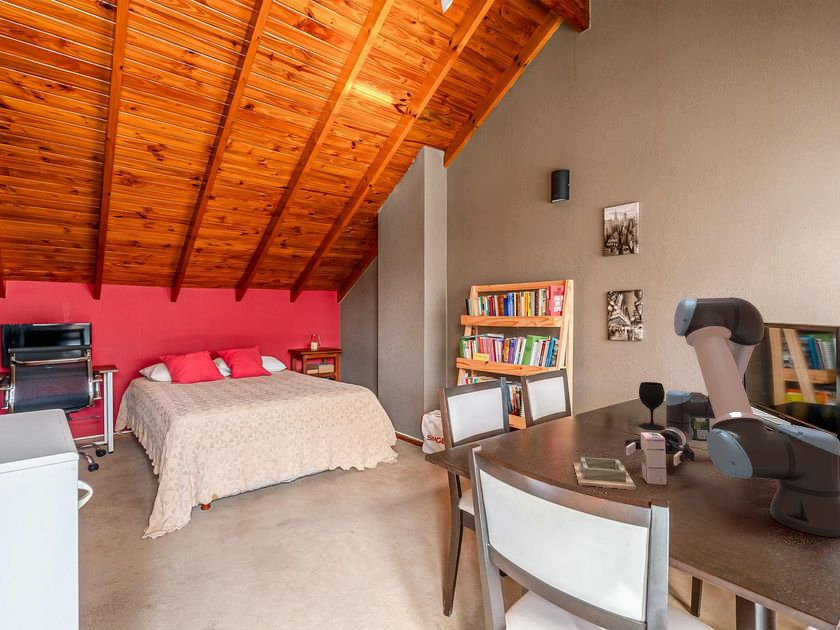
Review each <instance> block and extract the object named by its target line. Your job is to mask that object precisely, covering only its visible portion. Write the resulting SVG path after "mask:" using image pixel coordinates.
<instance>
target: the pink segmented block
mask: <svg viewBox="0 0 840 630" xmlns="http://www.w3.org/2000/svg"><path fill="white" fill-rule="evenodd" d="M659 433H660V432H659ZM659 433H658V432H648V431H647V432H645V431H644V432H640V438H641V449H640V453H641V455H640V457H641V460H640V461H641V462H640V463H641V477H642V479H643V480H644V481H645V482H646V484H649V485H660V486H661V485H666V486H667V457H666V455H667V454H666V453H665V438H664V437H663V436H662V435H660V434H659Z"/></svg>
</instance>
